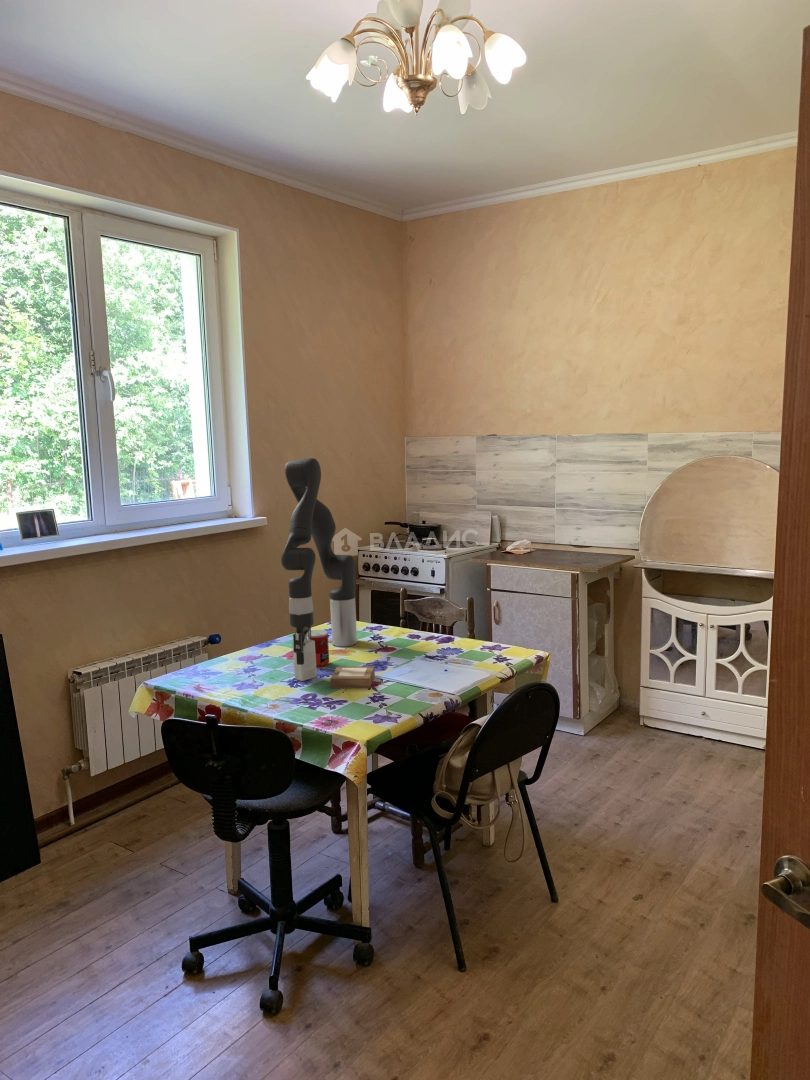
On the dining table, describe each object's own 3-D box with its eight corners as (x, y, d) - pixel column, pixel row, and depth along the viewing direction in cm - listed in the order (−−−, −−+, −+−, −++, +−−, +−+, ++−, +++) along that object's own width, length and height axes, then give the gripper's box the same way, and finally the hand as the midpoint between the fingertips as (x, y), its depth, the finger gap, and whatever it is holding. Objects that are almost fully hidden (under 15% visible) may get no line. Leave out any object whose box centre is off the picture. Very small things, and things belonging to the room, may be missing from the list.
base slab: (337, 675, 238) (337, 666, 238) (374, 675, 237) (374, 665, 237) (330, 688, 227) (330, 678, 226) (369, 688, 226) (369, 678, 225)
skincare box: (309, 674, 241) (307, 638, 239) (317, 677, 238) (315, 640, 236) (293, 678, 237) (291, 642, 235) (301, 681, 234) (299, 644, 232)
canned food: (325, 668, 247) (323, 636, 245) (302, 667, 248) (300, 635, 247) (332, 661, 254) (330, 630, 252) (310, 660, 256) (308, 629, 254)
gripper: (294, 605, 242) (297, 654, 244) (283, 615, 228) (286, 667, 230) (317, 605, 241) (319, 654, 243) (307, 615, 227) (310, 667, 229)
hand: (303, 660), depth 236 cm, fingers open, 8 cm apart
